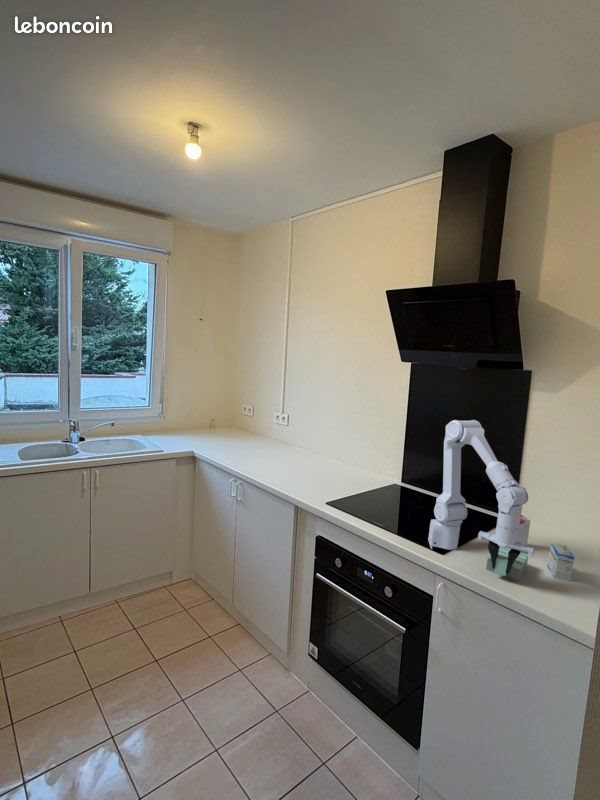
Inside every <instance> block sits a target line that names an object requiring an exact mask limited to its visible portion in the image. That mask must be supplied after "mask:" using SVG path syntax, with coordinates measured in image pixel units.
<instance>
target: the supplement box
mask: <svg viewBox="0 0 600 800" xmlns="http://www.w3.org/2000/svg"><path fill="white" fill-rule="evenodd" d="M530 526H531V519H528V517H526V516H524V515H523V514H521V518H520V524H519V530H518V537H517V541H518V542H520V543H522V544H524V545H526V546H528V541H529V535H530V534H529V533H530Z"/></svg>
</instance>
